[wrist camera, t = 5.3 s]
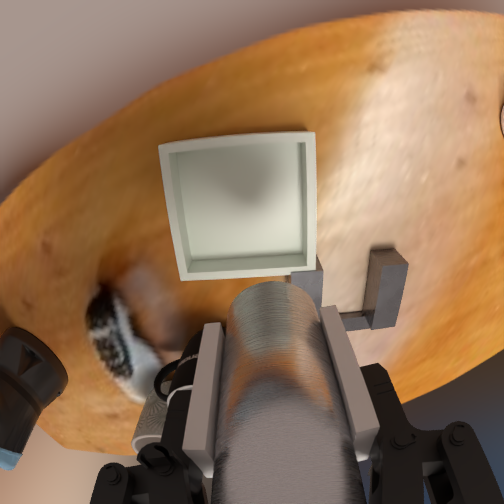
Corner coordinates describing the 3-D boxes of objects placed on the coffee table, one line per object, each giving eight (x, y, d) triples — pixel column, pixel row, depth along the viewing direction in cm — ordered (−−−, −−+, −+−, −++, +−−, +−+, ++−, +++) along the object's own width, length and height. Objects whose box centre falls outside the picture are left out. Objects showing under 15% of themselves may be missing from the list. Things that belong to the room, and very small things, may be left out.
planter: (162, 359, 37) (142, 424, 27) (242, 390, 39) (240, 455, 29) (140, 399, 41) (123, 453, 31) (208, 425, 44) (202, 479, 34)
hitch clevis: (288, 331, 34) (290, 351, 31) (287, 256, 30) (291, 272, 27) (381, 321, 34) (391, 339, 31) (395, 248, 29) (408, 263, 26)
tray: (187, 264, 30) (180, 280, 27) (168, 142, 25) (158, 145, 22) (309, 257, 30) (315, 273, 27) (307, 130, 25) (315, 132, 22)
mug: (244, 310, 33) (241, 379, 24) (262, 363, 37) (264, 428, 27) (150, 326, 34) (125, 388, 25) (178, 374, 38) (164, 433, 29)
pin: (218, 288, 14) (180, 563, 3) (313, 274, 14) (393, 546, 3) (237, 355, 16) (229, 569, 5) (317, 343, 16) (362, 555, 5)
